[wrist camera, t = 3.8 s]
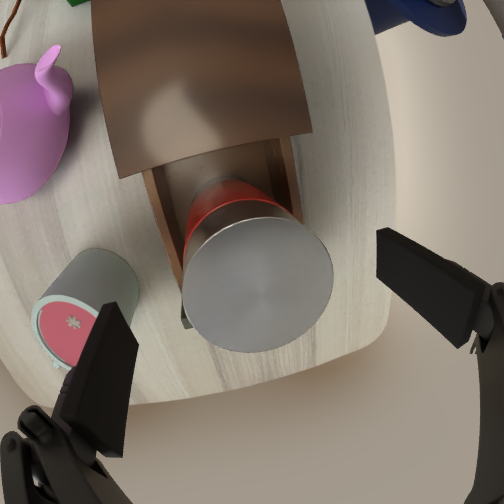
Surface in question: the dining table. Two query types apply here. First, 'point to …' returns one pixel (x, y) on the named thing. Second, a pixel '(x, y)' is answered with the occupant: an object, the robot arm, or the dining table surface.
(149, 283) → the dining table surface
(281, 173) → the drawer
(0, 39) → the glasses
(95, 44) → the cabinet
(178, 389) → the dining table surface
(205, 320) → the tin
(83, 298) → the mug
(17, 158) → the teapot
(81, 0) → the soya milk
